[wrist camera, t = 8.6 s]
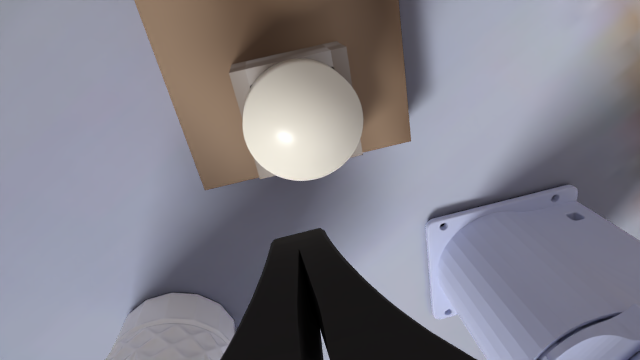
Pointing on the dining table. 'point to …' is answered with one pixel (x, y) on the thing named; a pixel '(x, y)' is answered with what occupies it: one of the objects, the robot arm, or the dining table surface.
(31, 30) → the dining table surface
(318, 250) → the robot arm
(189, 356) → the white cup
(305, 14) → the knob mount
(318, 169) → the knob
